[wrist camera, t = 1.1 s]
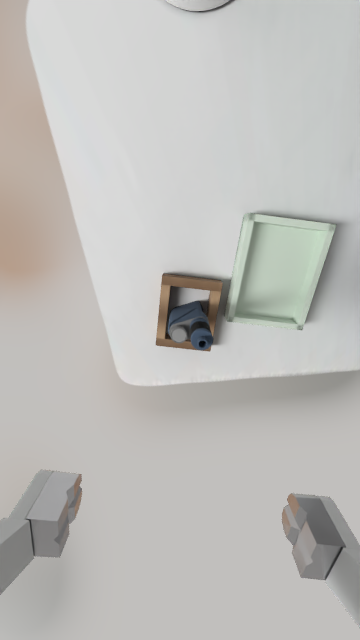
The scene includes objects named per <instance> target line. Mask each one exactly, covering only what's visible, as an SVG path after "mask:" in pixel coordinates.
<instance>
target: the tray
mask: <svg viewBox="0 0 360 640" xmlns="http://www.w3.org/2000/svg"><path fill="white" fill-rule="evenodd" d="M335 228H336V225H335V224H328V223H320V222H313V221H305V220H298V219H290V218H282V217H275V216H267V215H260V214H252V213H248V214H245V215H244V217H243V222H242V227H241V232H240V237H239V243H238V248H237V253H236V258H235V263H234V268H233V273H232V278H231V283H230V288H229V294H228V299H227V304H226V309H225V314H224V316H225V318H226V320H227V322H235V323H244V324H252V325H261V326H269V327H278V328H287V329H295V330H302V329H303V326H304V323H305V320H306V317H307V314H308V311H309V308H310V304H311V301H312V298H313V295H314V292H315V289H316V286H317V283H318V280H319V277H320V274H321V271H322V268H323V265H324V262H325V259H326V255H327V252H328V249H329V246H330V243H331V240H332V237H333V234H334V231H335Z"/></svg>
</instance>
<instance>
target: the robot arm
mask: <svg viewBox="0 0 360 640" xmlns="http://www.w3.org/2000/svg"><path fill="white" fill-rule="evenodd" d="M165 1H167V2H168V3H170V4H172V5H174V6H176V7H178V8H181V9H184V10H189V11H205V10H210V9H213V8H216V7H219V6H221V5H223V4H225V3H226V2H228V1H230V0H165ZM81 477H82V476H81V474H76V473H67V472H59V471H50V470H40V471H39V472H38V473H37V474H36V475H35V477H34V478H33V480H32V481H31V483H30V484H29V486H28V488H27V489H26V491H25V492H24V494H23V495H22V497H21V499H20V500H19V502H18V503H17V505H16V507H15V508H14V510H13V511H12V513H11V514H10V516H9V518H3V519H1V520H0V595H1V594H2V592H3V591H4V590H5V589H6V588H7V587H8V586H9V585H10V584H11V583H12V582H13V581H14V579H15V578H16V577H17V576H18V575H19V574H20V573H21V572H22V571H23V569H25V567H26V566H27V565H28V564H29V563H30V562H31V561H32V560H33V559H34V556H40V557H60V556H61V553H62V551H63V548H64V545H65V543H66V541H67V538H68V535H69V524H70V523H71V522H72V521H73V520H74V519H75V518H76V514H77V512H78V509H79V506H80V502H81V497H82V488H81V487H80V483H81V481H82V478H81ZM287 501H288V503H289V504H288V505H287V506H285V507H284V509H283V512H282V524H283V528H284V531H285V534H286V537H287V539H288V540H289V541H290V542H291V543H292V545H293V551H292V554H293V557H294V560H295V563H296V565H297V568H298V571H299V574H300V576H301V578H310V579H318V580H326V581H325V583H326V584H327V585H328V587H329V588H330V589H331V591H332V592H333V593H334V595H335V596H336V597H337V599H338V600H339V601H340V603H341V604H342V605H343V607H344V608H345V609H346V611H347V612H348V613H349V615H350V616H351V617H352V618H353V620H354V621H355V622H356V623H357V625H358V626H359V628H360V545H359V543H358V541H357V539H356V538H355V536H354V534H353V533H352V531H351V529H350V528H349V526H348V524H347V523H346V521H345V519H344V518H343V516H342V514H341V513H340V511H339V509H338V508H337V506H336V504H335V503H334V501H333V500H332V499H331V498H330V497H325V496H315V495H303V494H290V495H289V496H288V498H287Z"/></svg>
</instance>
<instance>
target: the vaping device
mask: <svg viewBox="0 0 360 640" xmlns="http://www.w3.org/2000/svg"><path fill="white" fill-rule="evenodd" d="M168 333H169V335H170V337H171V339H172V340H173V341H174V342H175V343H183V342H184V341H185V340H187V339H190V338H191V344H192V346H193V347H194V348H196V349H198V350H206V349H208V348H209V347H210V346H211V345H212V343H213V336H212V333H211V330H210V325H209V320H208V317H207V316H206V315H205V314H204V313H203V308H202V305H201V304H200V302H199V301H195V302H191V303H188V304H185V305H182V306H178V307H175V308H174V309H173V310H172V311H171V312H170V317H169V324H168Z"/></svg>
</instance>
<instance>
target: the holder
mask: <svg viewBox="0 0 360 640" xmlns="http://www.w3.org/2000/svg"><path fill="white" fill-rule="evenodd" d="M222 285H223V283H222V282H221V280H213V279H205V278H196V277H188V276H180V275H172V274H164V273H163V275H162V284H161V295H160V305H159V316H158V327H157V338H156V345H157V346H166V347H175V348H184V349H193V350H198V349H196V348H194V347H193V346H192V344H191V338H190V339H187V340H185V341H184V342H183V343H175V342H174V341H173V340H172V339H171V337H170V335H169V334H165V333H166V324H167V315H168V305H169V296H170V287H171V286H177V287H185V288H194V289H202V290H210V295H209V301H208V307H207V313H206V316H207V317H208V320H209V325H210V330H211V333H212V336H213V333H214V328H215V322H216V317H217V312H218V306H219V301H220V295H221V290H222ZM210 350H211V346H210V347H209V348H208V349H206V350H202V351H210Z"/></svg>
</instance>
